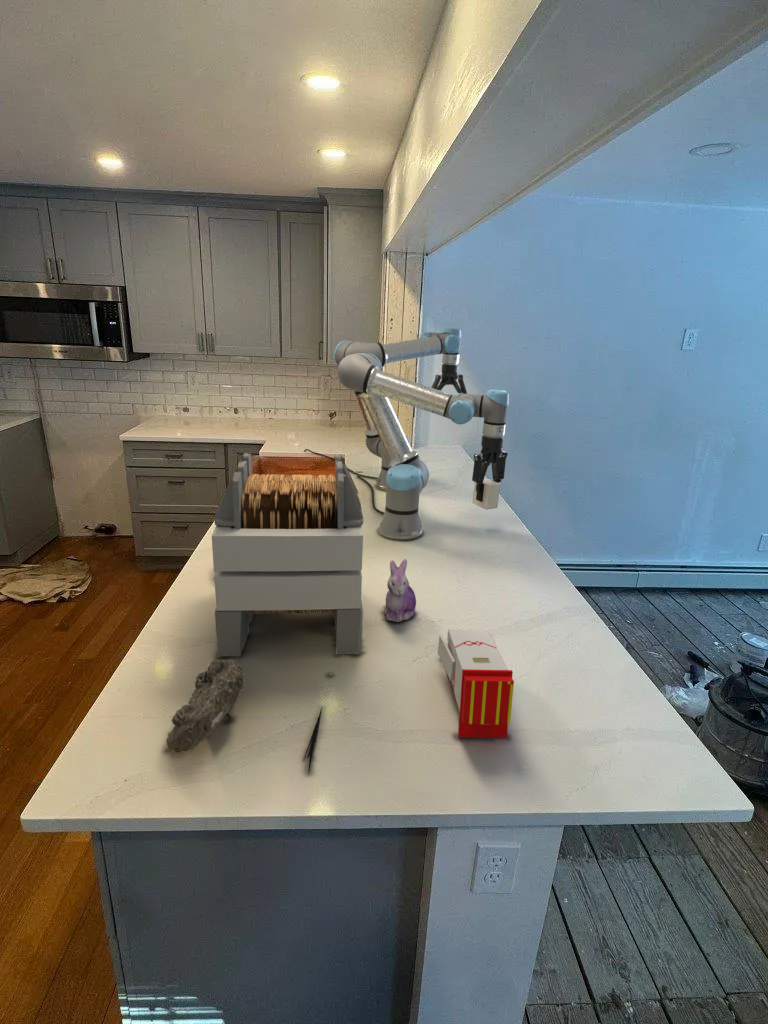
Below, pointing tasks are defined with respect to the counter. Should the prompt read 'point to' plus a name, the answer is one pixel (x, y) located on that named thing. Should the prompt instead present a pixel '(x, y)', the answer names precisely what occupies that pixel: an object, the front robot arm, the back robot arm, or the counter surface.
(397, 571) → the figurine
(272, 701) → the counter surface
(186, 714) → the fossil
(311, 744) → the dark thin pointed pieces
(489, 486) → the block
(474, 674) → the toy
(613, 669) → the counter surface
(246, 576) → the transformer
